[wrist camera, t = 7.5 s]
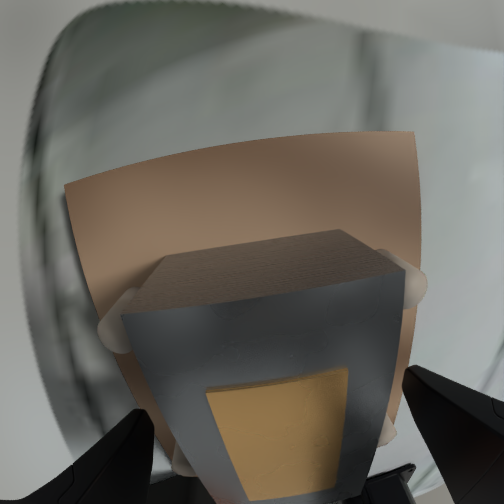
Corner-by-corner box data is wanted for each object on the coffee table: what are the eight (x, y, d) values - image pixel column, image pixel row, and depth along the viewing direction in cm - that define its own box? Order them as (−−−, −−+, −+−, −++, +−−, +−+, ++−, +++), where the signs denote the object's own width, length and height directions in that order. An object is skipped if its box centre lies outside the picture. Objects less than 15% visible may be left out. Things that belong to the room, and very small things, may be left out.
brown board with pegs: (381, 432, 13) (400, 470, 10) (184, 463, 13) (178, 505, 10) (399, 134, 9) (453, 126, 6) (78, 183, 9) (24, 191, 6)
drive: (166, 255, 9) (118, 316, 5) (340, 228, 9) (408, 271, 5) (226, 449, 12) (226, 518, 8) (338, 431, 12) (360, 496, 8)
